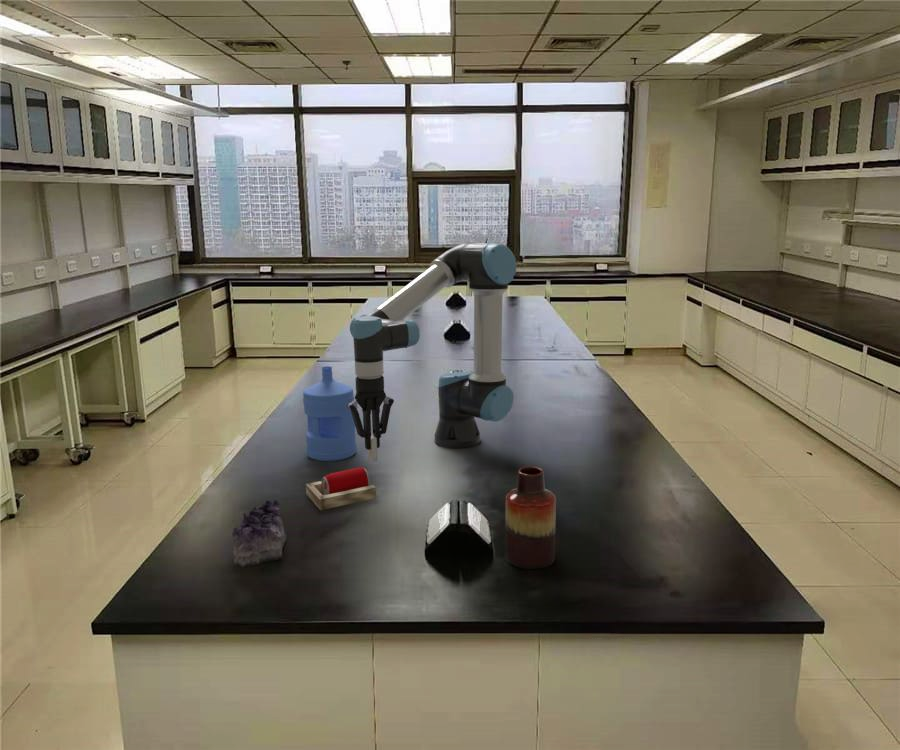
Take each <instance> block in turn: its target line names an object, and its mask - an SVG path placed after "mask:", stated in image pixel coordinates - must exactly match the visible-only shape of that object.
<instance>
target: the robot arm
mask: <svg viewBox="0 0 900 750" xmlns="http://www.w3.org/2000/svg"><path fill="white" fill-rule="evenodd" d="M516 261H517V260H516V257H515V255H514V253H513V252H512V250H511V249H510V248H509V247H508V246H506V245H504V244H501V243H496V242H464V243H460V244H457V245H455V246H453V247H452V248H450V249H448V250H446V251H445V252H443V253H442V254H440V255H439V256H437V257H436V258H435V259H434V260H432V261H431V262H430V265H429V267H428V269H426V270H425V271H423V272H422V273H420V275H418V276H417V277H415V278H414V279H413V280H411V281H410V282H408V284H406V285H405V286H403V287H402V288H401V289H400V290H399V291H397V292H396V293H395V294H393V295H392V296H391V297H389V298H387V300H385V301H384V302H383V303H381V304H380V305H378V307H376V308H374V309H373V310H372V311H371V312H369V313H368V314H358V315H356V316H355V317H353V318H352V320H351V322H350V324H349V331H350V332H349V333H350V334H351V337H352V339H353V353H354V374H355V376H356V377H355V379H354V380H355V391H356V392H355V394H354V401H353V402H351V403H348V404H347V407H348V408H349V409H350V411H351V413H352V417H353V420H354V423H355V431H356V434H357V435H358V437H360V438H363V439H364V448H365V450H367V451H368V460H369V461H371V462H372V463H373V462H378V449H379V448H380V447H381V441H380V440H381V439H380V438H381V437H382V435H384V434H386V433H387V429H388V424H389V418H390V414H391V408H392V406H393V404H394V402H395V400H394V399H393V398H391V397H390V396H387V395H386V392H385V377H384V375H383V374H384V372H385V371H384V352H387V351H393V350H399V349H407V348H409V347H413V346H415V345H417V344H418V342H419V340H420V336H421V335H420V328H419V326H418V323H417V322H415V321H414V320H413V319H406V318H408V317H409V316H410V315H411V314H413V313H414V312H415V311H416V310H418V309H419V308H421V307H422V306H423V305H424V304H425V303H427V302H428V301H430V300H431V299H432V298H433V297H435V296H436V295H437V294H438V293H440V292H441V291H443V289H444V288H451V287H453V286H454V285H455V284H457V283H460V282H467V281H468V282H469V283H468V287H469V290H470V291H471V293H473V295H474V296H473V371H467V370H466V371H465V370H464V371H454V372H448V373H444V374H442V375H440V377H439V379H438V386H437V388H438V389H437V390H438V411H439V413H438V415H439V416H438V417H439V420H438V422H437V425H436V429H435V432H434V443H435V445H437V446H440V447H444V448H448V449H449V448H451V449H464V448H465V449H466V448H469V447H474V446H476V445H478V444H480V442H481V432H480V429H479V427H478V423H477V420H476V418H478V419H481V420H483V421H487V422H488V421H490V422H499V421H502V420H504V418H506V417H507V416H508V413H510V412H511V409H512V408H513V405H514V399H515V397H514V396H515V395H514V392H513V390H512V388H511V387H510V386H508V385H507V376H506V375H505V374H504V373H503V372H502V360H503V359H502V358H503V357H502V352H503V350H502V349H503V348H502V346H503V343H502V342H503V340H502V339H503V295H504V293H506V292H507V290H508V289H509V283H511V282H512V281H513V280H514V276H516V273H517V262H516ZM358 405H359V406H358ZM381 405H382V410H381ZM358 407H361V412H362V419H363V420H361V415H360V413H359V410H358ZM380 413H381V415H380Z"/></svg>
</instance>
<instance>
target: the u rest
mask: <svg viewBox="0 0 900 750" xmlns="http://www.w3.org/2000/svg"><path fill="white" fill-rule="evenodd" d="M305 490H306V491H305V494H306V496H308V498H309V499H310V501H312V502H313V503H314V505H315V506H316V507H317V508H318V509H319V510H320V511H323V510H324V511H325V510H328V509H333V508H337V507H340V506H346V505H350V504H355V503H360V502H365V501H368V500H373V499H376V498H377V487H376V486H375V485H374V484H371V485H370V484H369V486H366V487H361V488H356V489H352V490H347V491H342V492H337V493H333V494H328V495H324V493H323V490H322V485H321V481H320V480H319V481H314V482H310V483H305Z"/></svg>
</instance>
